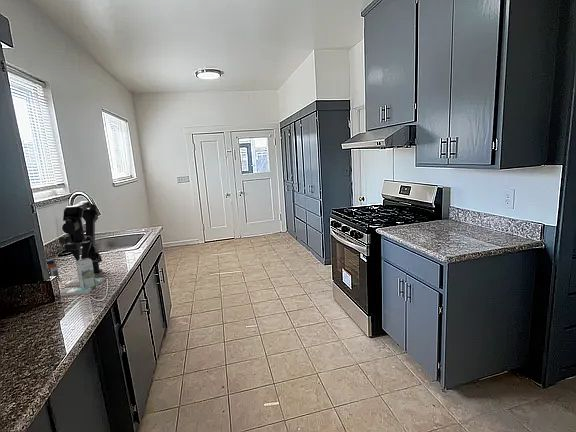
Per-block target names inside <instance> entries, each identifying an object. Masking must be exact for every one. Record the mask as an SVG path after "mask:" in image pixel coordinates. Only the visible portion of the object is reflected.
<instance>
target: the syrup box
mask: <svg viewBox="0 0 576 432" xmlns="http://www.w3.org/2000/svg"><path fill="white" fill-rule="evenodd" d="M75 266H76V267H75V268H76V271H77V277H78V278H77V279H78V280H79V283H80V285H79V288H87V287H89V288H91V287H94V288H95V287H96V286H97V285H96V282H95V278H96V277H95V274H94V270H93V264H92V260H91V259H89V258H85V259H81V258H80V259H79V260H77V261H76V260H75Z"/></svg>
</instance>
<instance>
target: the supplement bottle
mask: <svg viewBox="0 0 576 432" xmlns="http://www.w3.org/2000/svg"><path fill="white" fill-rule="evenodd" d="M46 260H47V264H48V269H49V272H50V276H57V277H58V279H60V275H59V271H58V265H57V262H55V260H54V258H49V259H46Z"/></svg>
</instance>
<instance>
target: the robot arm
mask: <svg viewBox="0 0 576 432" xmlns="http://www.w3.org/2000/svg"><path fill="white" fill-rule="evenodd" d="M99 215H100V211H99V208H98V206H97V205H96V204H93V203H92V202H91V201H90V200H83V201H81V200H80V201H78V203H77V204H74V205H69V206H65V207H64V209H63V216H62V221H63V222H65V223H63V224H62V227H61V231H63V232H64V233H65V234H67V235H68V236H61V237H59V238H58V244H61V245H62V246H63V248H64V251H67V252H69V253H71V255H72V256H73V257H74V259H75V262H76V261H77V260H81V259H85V258H89V259H91V260H92V264H93V270H94V275H97V274H100V273H101V272H102V271H103V269H102V268H101V269H100V264H99V263H100V262H103V260H102V259H103V257H102V255H101V254H100V252H99V250H98V248H97V247H96V222H97V220H98V219H99ZM82 219H83V220H84V222H85V229H84V226H83V225H84V224H83V220H82Z"/></svg>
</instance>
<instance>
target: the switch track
mask: <svg viewBox="0 0 576 432" xmlns="http://www.w3.org/2000/svg"><path fill="white" fill-rule="evenodd" d="M95 282H96V286H98V284H101V283H102V282H103V277H97V278H96V277H95ZM64 285H65V286H64V287H65V288H67V287H75V286H77V287H78V286H80V283H79V279H73V280H69V281H67V282H66V283H65V284H64ZM93 289H95V287H91V288H89V287H87V288H81V287H79V288H74V289H73V288H72V289H70V288H67V289H59V290H60V295H61V296H60V297H65V296H76V295H87V294H89V293H90V292H91V291H92V290H93Z"/></svg>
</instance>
